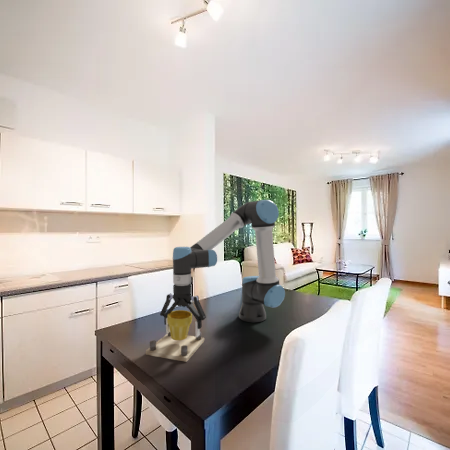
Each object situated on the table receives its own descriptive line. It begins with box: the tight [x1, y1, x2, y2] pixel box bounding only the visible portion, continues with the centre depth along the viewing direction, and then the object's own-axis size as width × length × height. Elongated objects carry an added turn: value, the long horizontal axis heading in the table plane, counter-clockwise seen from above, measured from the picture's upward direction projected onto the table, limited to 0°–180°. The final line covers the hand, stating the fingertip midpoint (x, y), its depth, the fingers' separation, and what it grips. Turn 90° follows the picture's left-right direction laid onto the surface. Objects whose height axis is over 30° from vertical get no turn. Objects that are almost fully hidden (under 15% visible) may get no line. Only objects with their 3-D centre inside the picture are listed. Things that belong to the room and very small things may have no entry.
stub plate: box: [145, 331, 205, 362], centre depth 107 cm, size 18×18×4 cm
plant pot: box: [167, 309, 193, 340], centre depth 107 cm, size 10×10×10 cm
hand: (182, 334), depth 106 cm, fingers open, 13 cm apart
